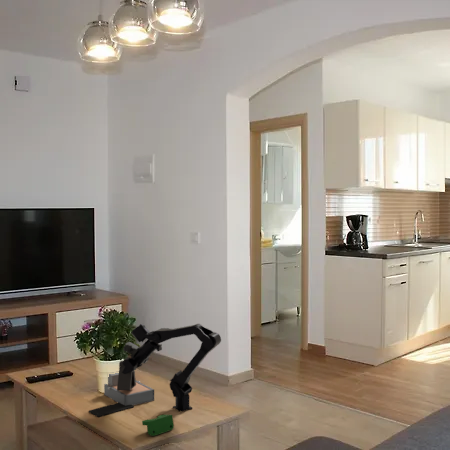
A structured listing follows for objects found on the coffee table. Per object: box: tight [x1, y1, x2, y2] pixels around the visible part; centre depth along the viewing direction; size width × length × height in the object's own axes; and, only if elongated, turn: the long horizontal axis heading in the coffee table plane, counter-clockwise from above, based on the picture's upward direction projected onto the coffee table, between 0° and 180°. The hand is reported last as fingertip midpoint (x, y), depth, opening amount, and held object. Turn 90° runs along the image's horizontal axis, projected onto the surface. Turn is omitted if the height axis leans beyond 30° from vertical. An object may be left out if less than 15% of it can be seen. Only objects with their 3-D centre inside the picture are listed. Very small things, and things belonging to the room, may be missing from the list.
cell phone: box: [88, 402, 135, 418], centre depth 249 cm, size 9×18×1 cm, turn 133°
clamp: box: [141, 414, 175, 437], centre depth 225 cm, size 12×6×9 cm, turn 128°
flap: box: [107, 370, 150, 395], centre depth 265 cm, size 19×12×10 cm, turn 37°
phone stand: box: [117, 360, 137, 391], centre depth 259 cm, size 9×6×12 cm, turn 170°
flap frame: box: [103, 380, 155, 406], centre depth 265 cm, size 21×16×5 cm
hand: (123, 372), depth 259 cm, fingers closed on phone stand, 3 cm apart
